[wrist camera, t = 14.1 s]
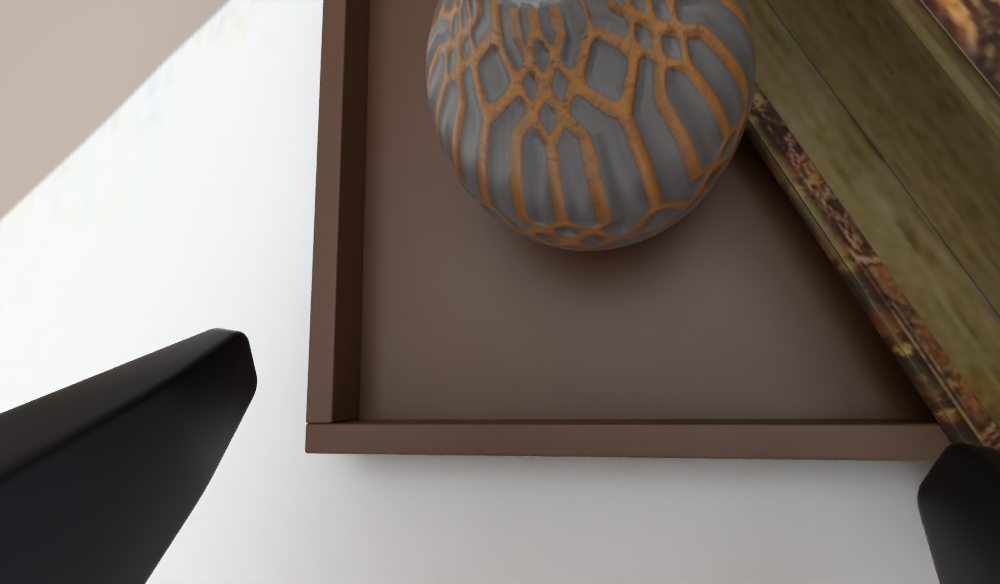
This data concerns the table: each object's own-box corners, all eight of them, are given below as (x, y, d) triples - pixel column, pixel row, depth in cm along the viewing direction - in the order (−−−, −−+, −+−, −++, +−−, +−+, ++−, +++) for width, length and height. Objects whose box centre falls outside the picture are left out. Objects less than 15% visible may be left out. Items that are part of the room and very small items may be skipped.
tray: (954, 448, 14) (1026, 463, 11) (350, 443, 18) (303, 453, 15) (866, -150, 17) (908, -243, 14) (364, -49, 20) (327, -109, 18)
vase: (445, 193, 17) (242, 37, 9) (570, 2, 17) (483, -356, 8) (636, 318, 15) (612, 269, 7) (783, 103, 15) (950, -231, 6)
